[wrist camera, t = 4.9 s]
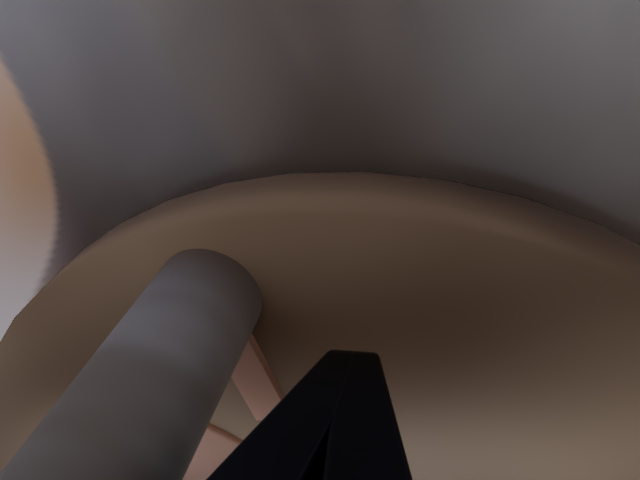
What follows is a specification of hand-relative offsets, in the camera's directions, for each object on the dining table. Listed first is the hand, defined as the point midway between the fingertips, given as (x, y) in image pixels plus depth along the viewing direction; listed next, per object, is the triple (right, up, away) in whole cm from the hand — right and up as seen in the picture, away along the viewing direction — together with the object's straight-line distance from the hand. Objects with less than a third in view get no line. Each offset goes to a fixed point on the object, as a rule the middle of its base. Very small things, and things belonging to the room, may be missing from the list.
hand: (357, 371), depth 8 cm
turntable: (+1, -5, +8) cm, 10 cm away
